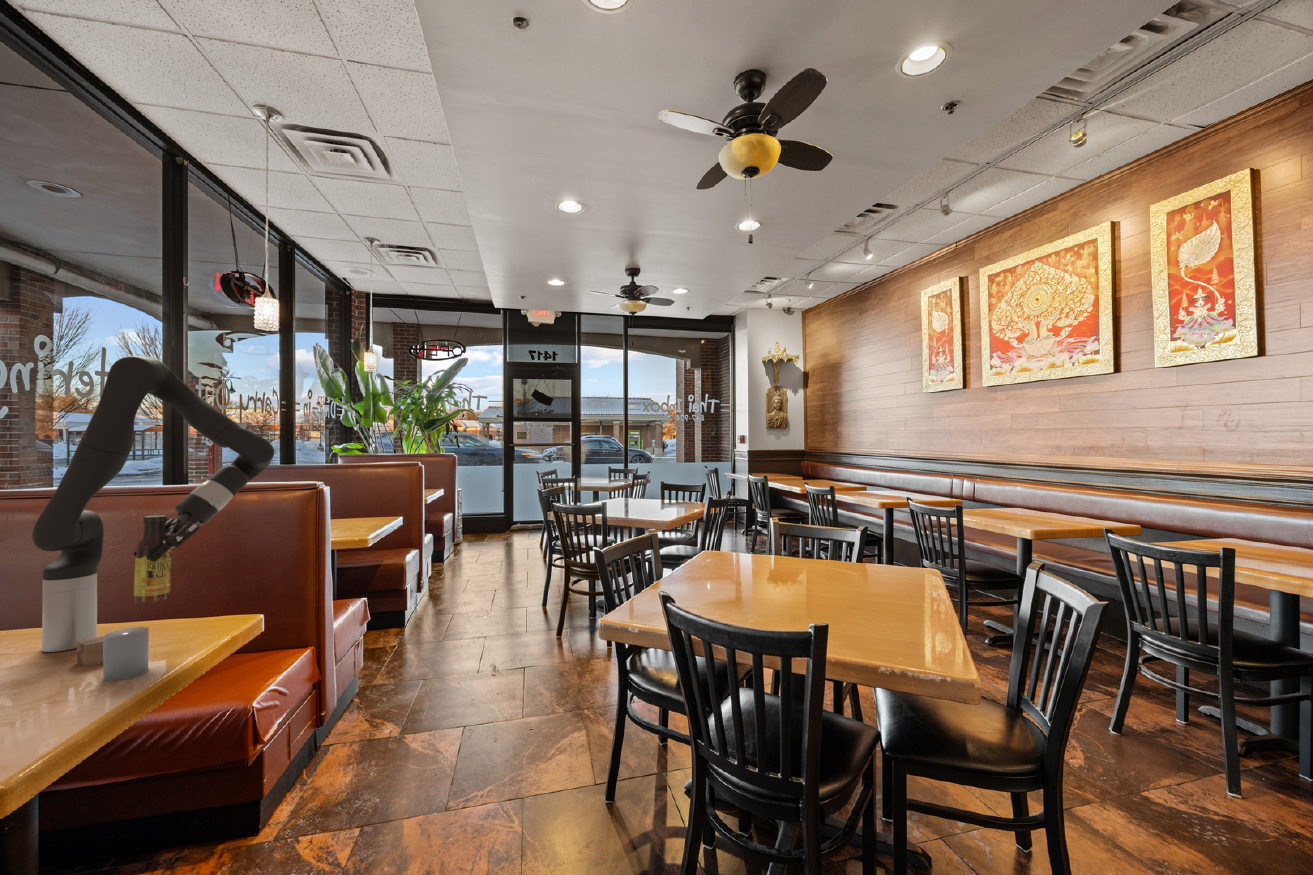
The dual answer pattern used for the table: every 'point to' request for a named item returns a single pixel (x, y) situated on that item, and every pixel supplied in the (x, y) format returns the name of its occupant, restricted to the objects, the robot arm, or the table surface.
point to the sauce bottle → (152, 564)
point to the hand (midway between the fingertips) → (143, 557)
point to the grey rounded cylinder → (125, 654)
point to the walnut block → (90, 651)
